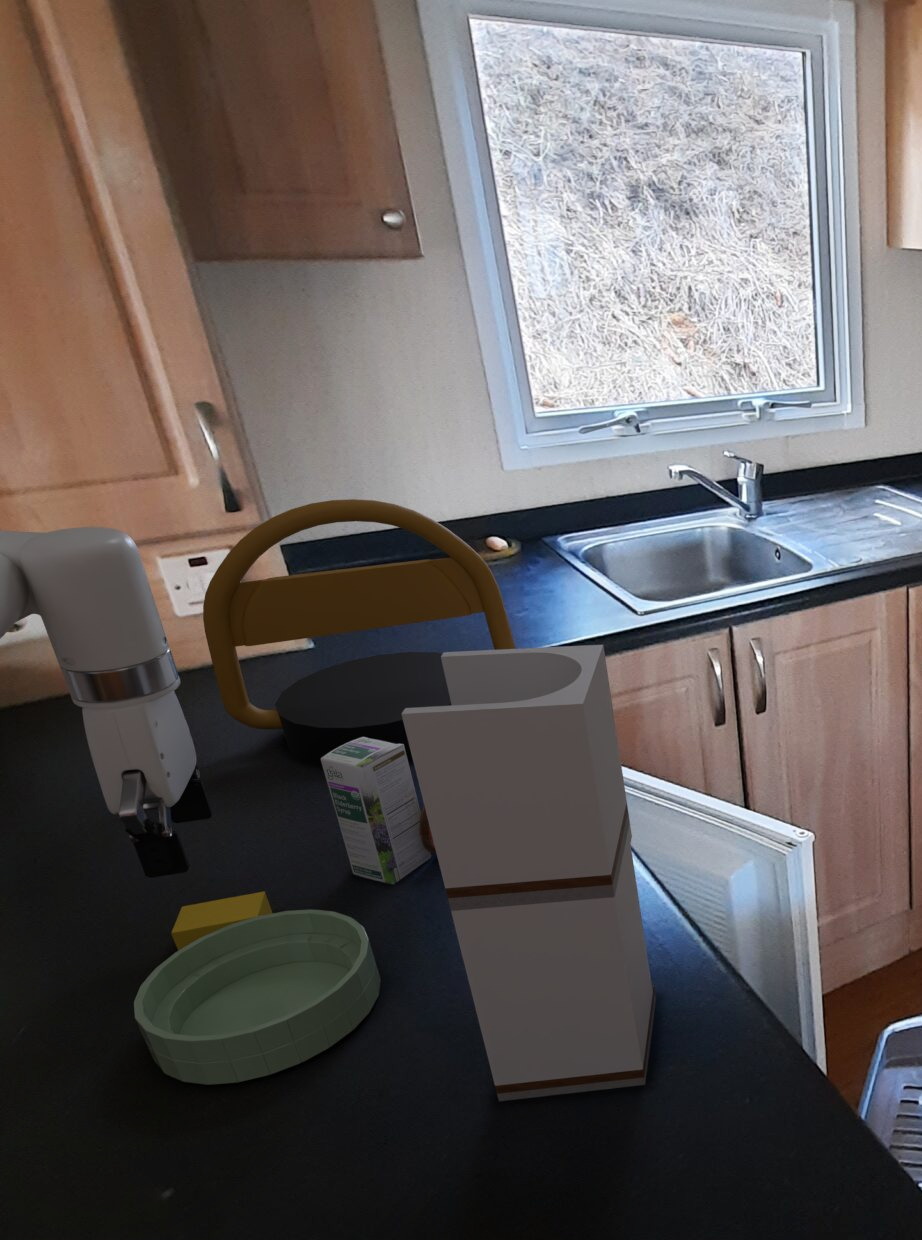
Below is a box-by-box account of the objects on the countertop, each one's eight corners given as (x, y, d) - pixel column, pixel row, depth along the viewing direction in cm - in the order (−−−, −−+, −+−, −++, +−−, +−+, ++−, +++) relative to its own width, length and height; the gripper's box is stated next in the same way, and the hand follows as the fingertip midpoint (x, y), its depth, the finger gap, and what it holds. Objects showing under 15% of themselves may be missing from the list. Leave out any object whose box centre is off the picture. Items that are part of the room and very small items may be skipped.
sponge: (182, 962, 99) (170, 933, 98) (193, 935, 103) (181, 906, 101) (267, 945, 102) (257, 916, 100) (274, 919, 105) (264, 890, 104)
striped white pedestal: (656, 1001, 96) (603, 644, 80) (645, 1088, 86) (583, 703, 70) (525, 1014, 94) (443, 652, 78) (499, 1104, 84) (401, 714, 68)
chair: (539, 739, 141) (495, 507, 127) (234, 797, 126) (145, 543, 112) (515, 673, 161) (474, 465, 146) (248, 716, 146) (174, 491, 132)
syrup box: (351, 877, 112) (315, 758, 106) (394, 848, 117) (362, 733, 111) (394, 887, 111) (360, 767, 104) (435, 858, 116) (405, 741, 109)
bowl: (131, 1116, 83) (107, 1064, 80) (181, 981, 97) (162, 934, 94) (374, 1058, 89) (358, 1008, 86) (388, 939, 103) (375, 893, 100)
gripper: (99, 644, 95) (156, 807, 103) (32, 723, 81) (105, 905, 88) (196, 635, 98) (245, 795, 105) (149, 710, 84) (209, 888, 91)
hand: (181, 845), depth 97 cm, fingers open, 9 cm apart
